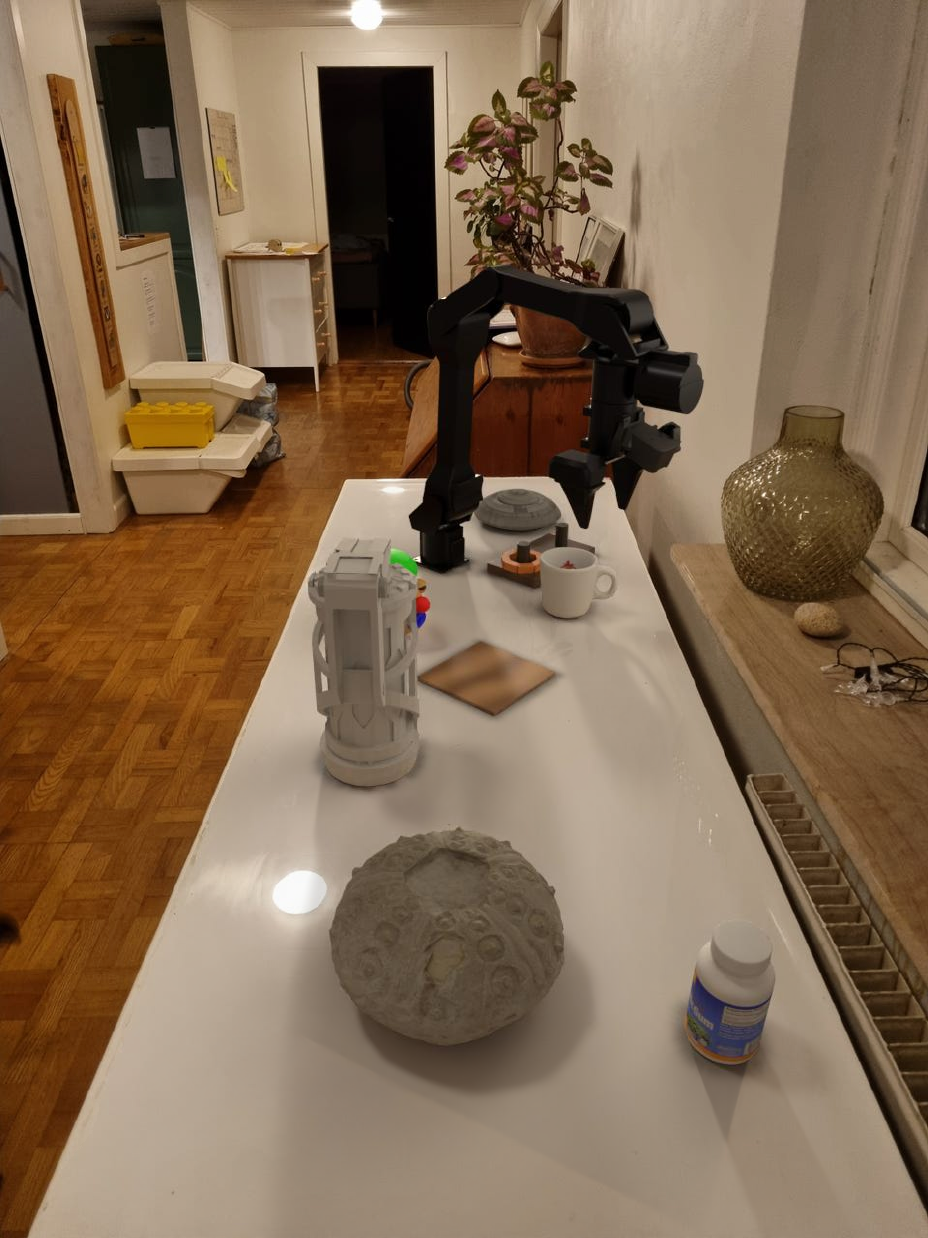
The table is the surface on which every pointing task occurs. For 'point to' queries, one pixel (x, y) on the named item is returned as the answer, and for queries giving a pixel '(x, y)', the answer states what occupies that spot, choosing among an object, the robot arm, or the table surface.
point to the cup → (572, 581)
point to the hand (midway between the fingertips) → (603, 518)
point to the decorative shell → (447, 936)
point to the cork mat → (487, 677)
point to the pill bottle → (731, 993)
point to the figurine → (421, 601)
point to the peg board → (539, 546)
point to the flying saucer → (517, 510)
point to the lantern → (366, 663)
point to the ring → (520, 567)
